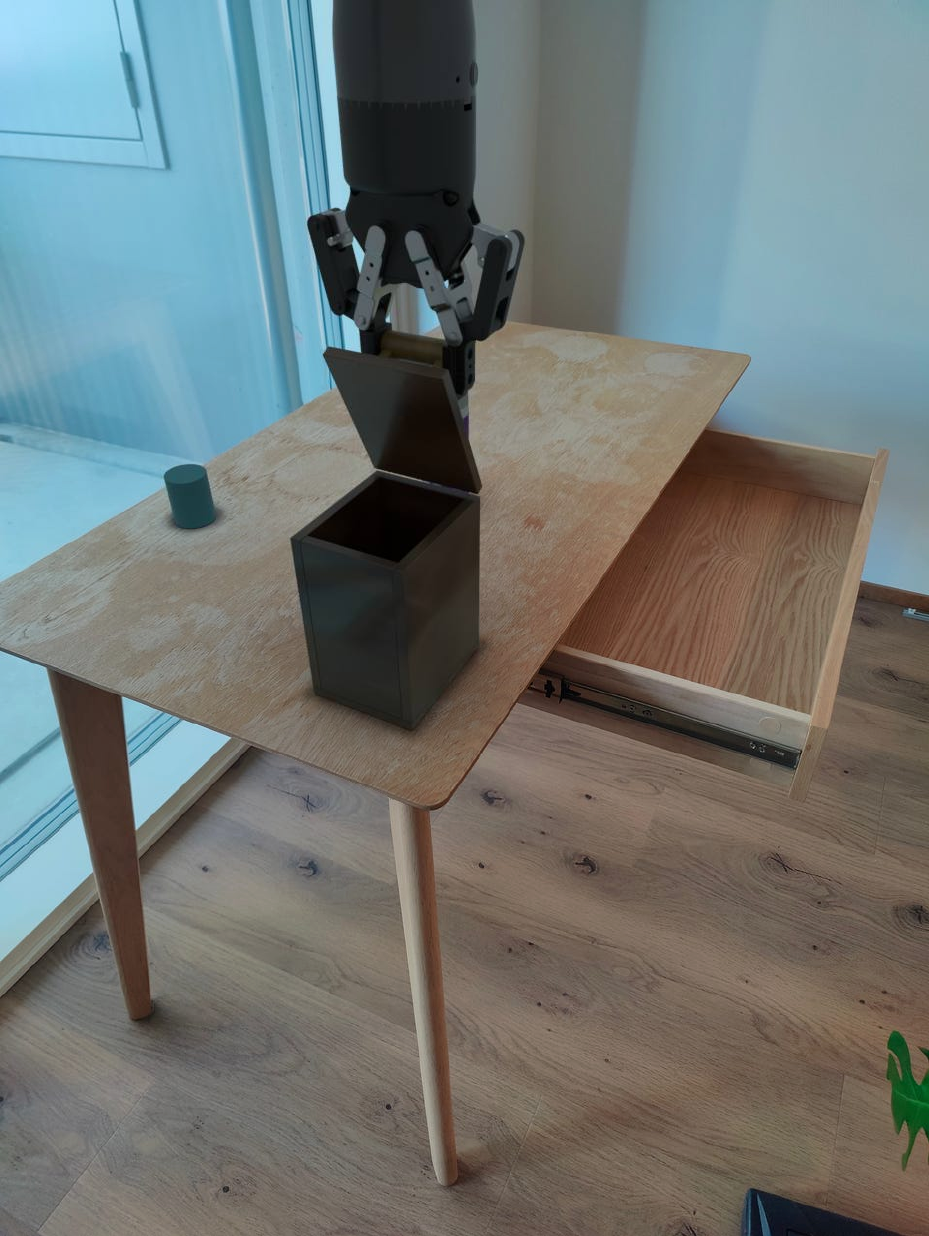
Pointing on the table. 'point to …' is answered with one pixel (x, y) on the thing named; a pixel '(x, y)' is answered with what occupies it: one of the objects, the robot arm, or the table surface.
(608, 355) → the table surface
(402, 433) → the lid
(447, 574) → the chest
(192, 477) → the teal cylinder
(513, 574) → the table surface
